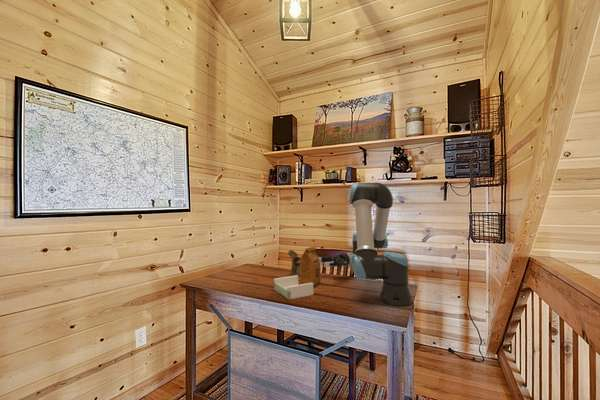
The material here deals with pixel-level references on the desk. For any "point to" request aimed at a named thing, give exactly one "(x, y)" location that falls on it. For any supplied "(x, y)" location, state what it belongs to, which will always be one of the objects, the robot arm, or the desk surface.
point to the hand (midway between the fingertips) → (318, 262)
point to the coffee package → (310, 267)
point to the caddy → (292, 287)
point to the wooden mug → (295, 263)
